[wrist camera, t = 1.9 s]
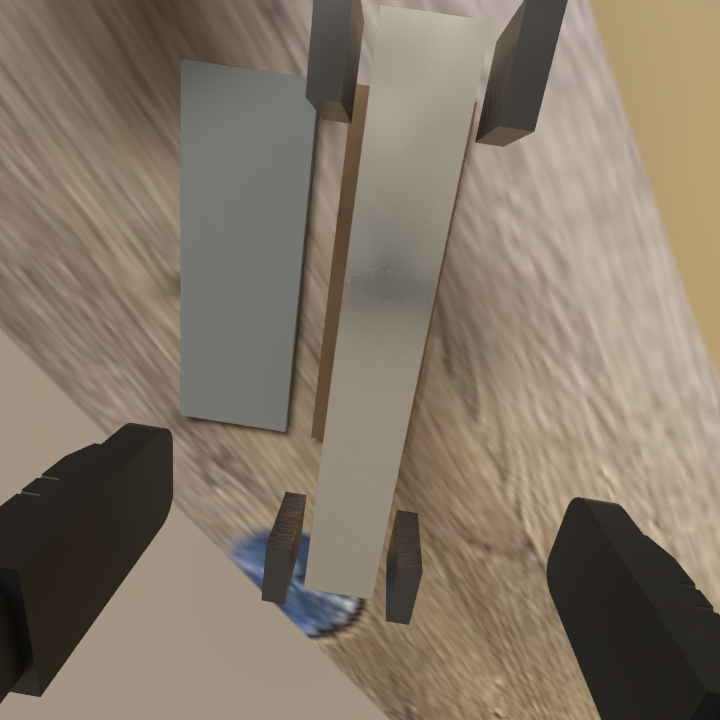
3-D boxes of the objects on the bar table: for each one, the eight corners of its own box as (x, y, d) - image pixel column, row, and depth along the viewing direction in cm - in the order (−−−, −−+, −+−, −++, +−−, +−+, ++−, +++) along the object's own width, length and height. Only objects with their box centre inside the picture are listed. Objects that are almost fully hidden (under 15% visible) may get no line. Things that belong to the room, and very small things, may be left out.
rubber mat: (186, 409, 34) (180, 415, 33) (188, 63, 26) (180, 58, 25) (288, 425, 34) (285, 431, 33) (321, 84, 26) (319, 79, 25)
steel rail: (315, 538, 22) (303, 588, 19) (382, 42, 14) (380, 4, 12) (374, 548, 22) (372, 599, 19) (471, 56, 14) (491, 21, 12)
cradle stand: (313, 429, 34) (254, 607, 19) (355, 88, 26) (307, -65, 11) (403, 444, 33) (413, 634, 19) (473, 106, 26) (586, -24, 11)
